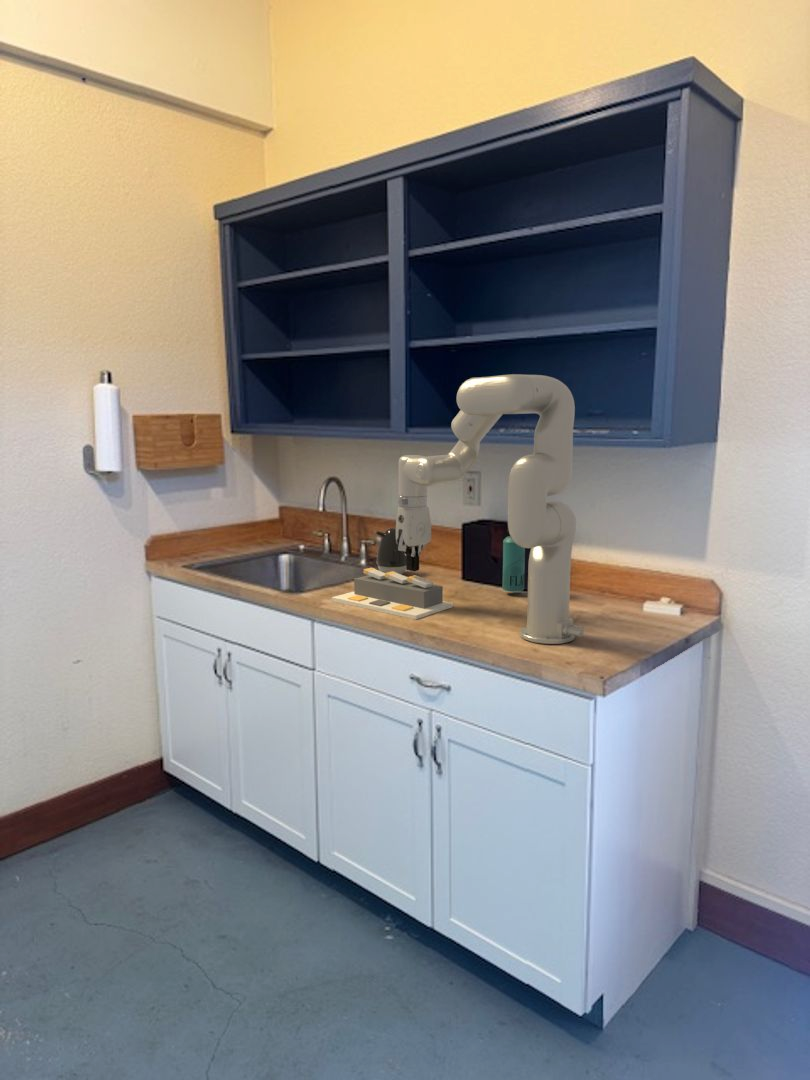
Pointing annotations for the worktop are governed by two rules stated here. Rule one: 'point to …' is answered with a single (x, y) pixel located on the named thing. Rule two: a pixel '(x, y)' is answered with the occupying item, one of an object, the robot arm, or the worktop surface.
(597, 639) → the worktop surface
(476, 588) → the worktop surface
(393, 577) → the block
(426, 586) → the plate
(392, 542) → the black egg-shaped figure
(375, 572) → the plate
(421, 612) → the switch unit
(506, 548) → the beverage bottle
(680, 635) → the worktop surface
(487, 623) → the worktop surface
